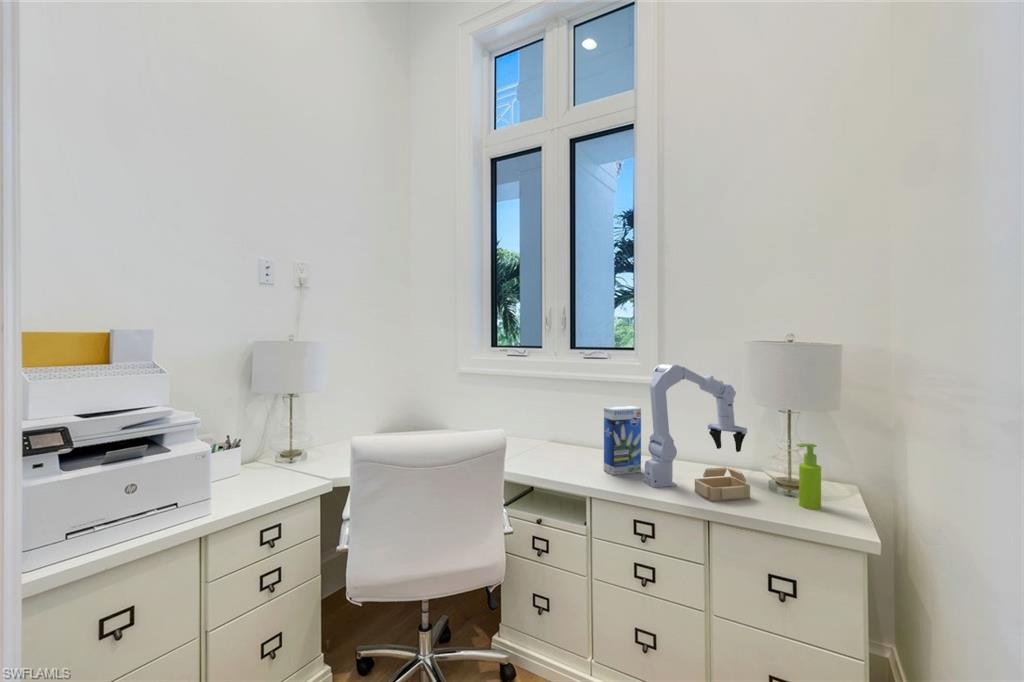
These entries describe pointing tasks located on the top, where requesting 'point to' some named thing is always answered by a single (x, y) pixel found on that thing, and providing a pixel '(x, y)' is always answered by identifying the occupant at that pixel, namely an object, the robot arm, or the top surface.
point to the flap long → (715, 472)
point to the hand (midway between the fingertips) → (728, 449)
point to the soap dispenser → (809, 480)
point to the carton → (722, 489)
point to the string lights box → (622, 439)
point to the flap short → (736, 474)
